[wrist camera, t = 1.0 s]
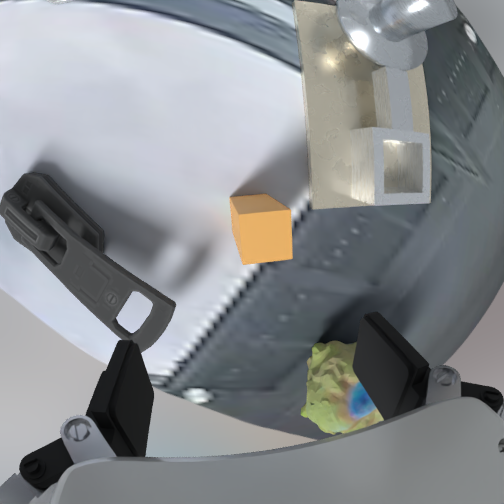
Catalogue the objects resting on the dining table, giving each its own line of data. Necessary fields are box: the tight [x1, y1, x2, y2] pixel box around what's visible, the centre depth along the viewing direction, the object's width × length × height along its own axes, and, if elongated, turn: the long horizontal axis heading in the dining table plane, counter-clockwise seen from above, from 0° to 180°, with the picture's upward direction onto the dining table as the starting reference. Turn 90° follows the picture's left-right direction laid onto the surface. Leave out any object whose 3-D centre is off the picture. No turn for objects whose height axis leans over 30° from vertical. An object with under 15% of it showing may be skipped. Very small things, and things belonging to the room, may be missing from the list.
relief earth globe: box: [301, 341, 384, 435], centre depth 35 cm, size 14×16×15 cm
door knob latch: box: [292, 0, 457, 209], centre depth 22 cm, size 28×18×15 cm, turn 4°
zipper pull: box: [0, 172, 176, 353], centre depth 27 cm, size 9×7×25 cm
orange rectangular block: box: [230, 194, 292, 265], centre depth 27 cm, size 4×4×10 cm
